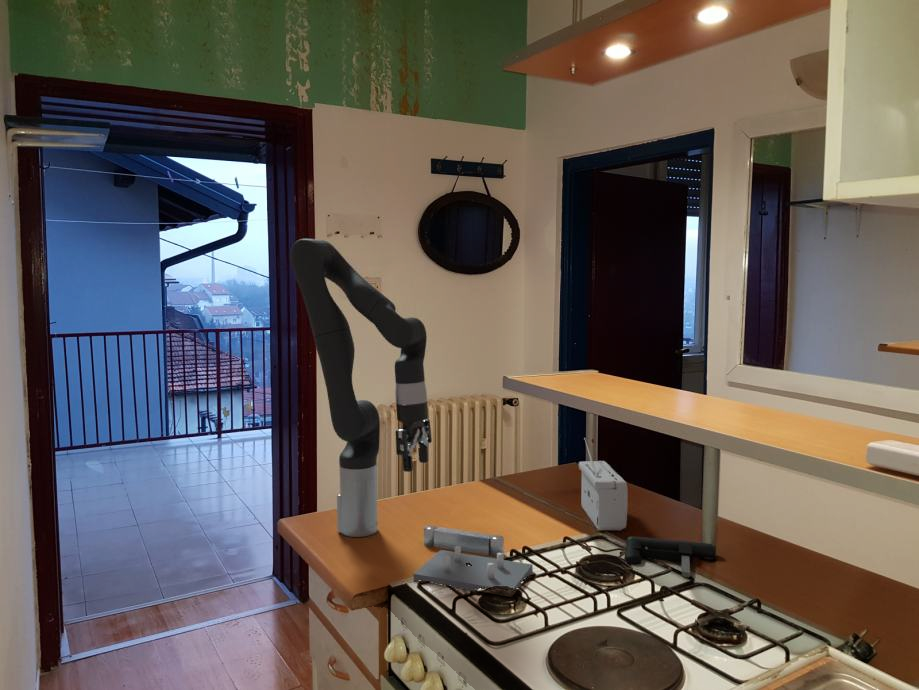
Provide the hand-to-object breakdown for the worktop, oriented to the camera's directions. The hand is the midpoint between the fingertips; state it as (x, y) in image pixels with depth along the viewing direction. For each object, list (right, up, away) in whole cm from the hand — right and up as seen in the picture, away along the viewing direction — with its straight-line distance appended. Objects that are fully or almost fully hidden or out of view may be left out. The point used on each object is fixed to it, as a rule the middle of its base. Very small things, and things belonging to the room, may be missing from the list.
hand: (416, 466), depth 170 cm
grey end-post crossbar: (+11, -19, -4) cm, 22 cm away
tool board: (+14, -20, -19) cm, 31 cm away
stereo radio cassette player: (+48, -17, +16) cm, 54 cm away
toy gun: (+58, -20, -12) cm, 63 cm away
